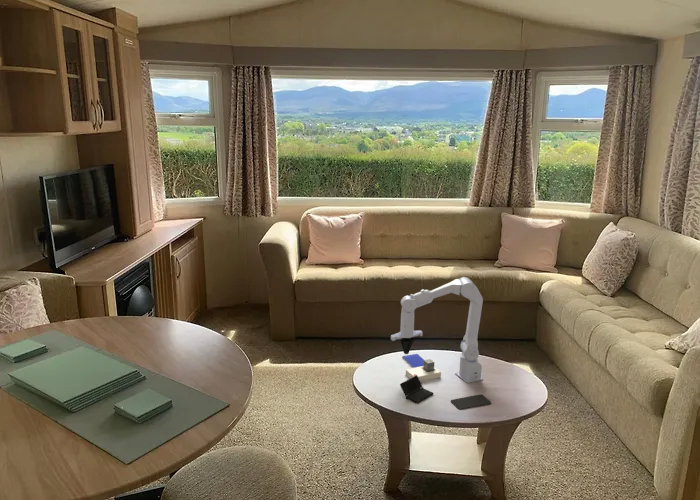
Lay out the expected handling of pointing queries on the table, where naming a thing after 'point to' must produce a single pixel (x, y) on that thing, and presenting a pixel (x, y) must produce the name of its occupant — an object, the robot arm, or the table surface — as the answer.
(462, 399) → the phone
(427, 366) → the plug
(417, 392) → the handheld gaming console
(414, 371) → the socket plate
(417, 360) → the hard drive
